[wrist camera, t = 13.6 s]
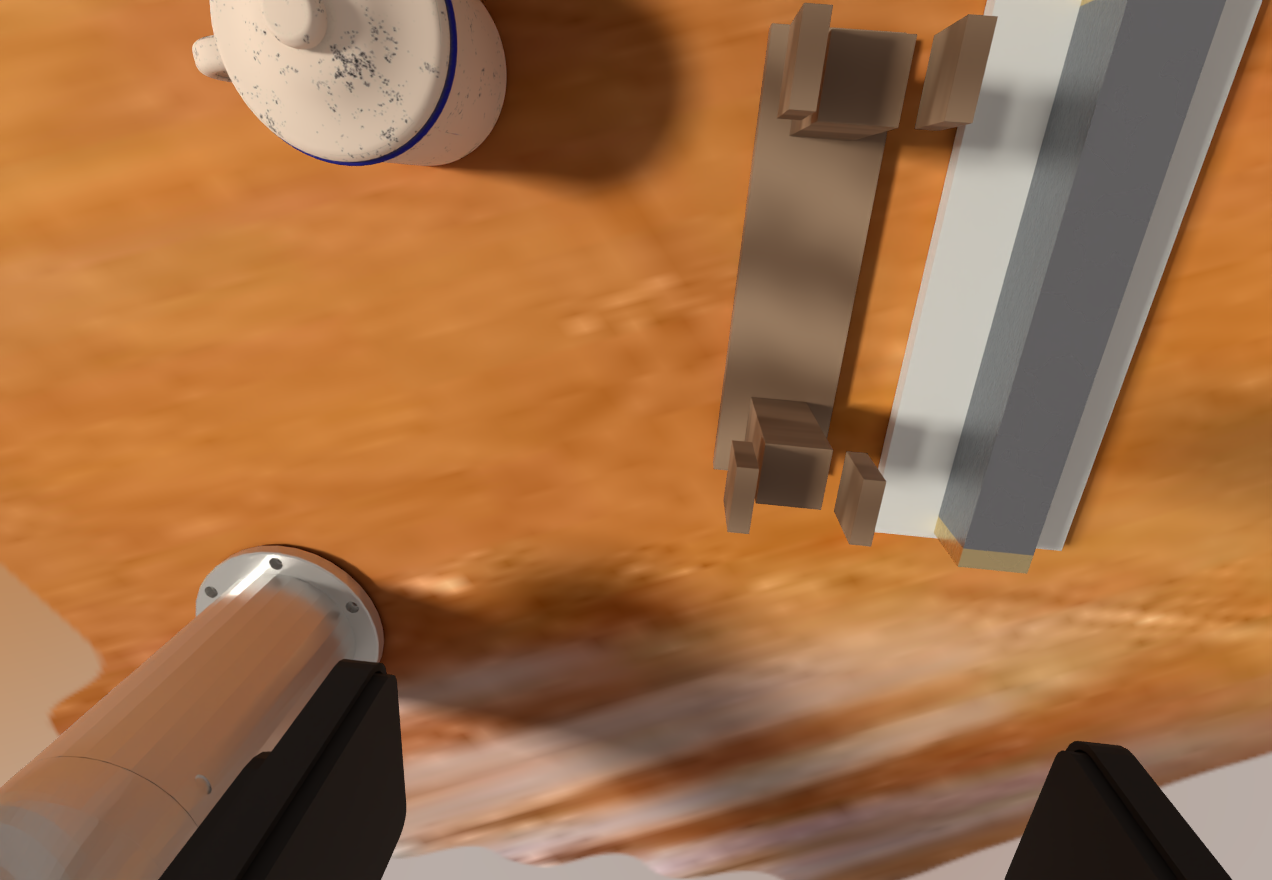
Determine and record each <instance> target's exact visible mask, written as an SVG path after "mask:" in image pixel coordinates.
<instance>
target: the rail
mask: <svg viewBox="0 0 1272 880" xmlns="http://www.w3.org/2000/svg"><path fill="white" fill-rule="evenodd" d="M1225 2H1226V0H1082V1H1081V5H1080V8H1079V12H1078V15H1077V19H1076V23H1075V26H1074V30H1073V33H1072V37H1071V41H1070V44H1069V48H1068V51H1067V55H1066V58H1065V62H1064V66H1063V69H1062V73H1061V76H1060V80H1059V84H1058V87H1057V91H1056V94H1055V98H1054V102H1053V105H1052V109H1051V112H1050V116H1049V120H1048V123H1047V127H1046V130H1045V134H1044V138H1043V141H1042V145H1041V148H1040V152H1039V156H1038V159H1037V163H1036V166H1035V170H1034V174H1033V177H1032V181H1031V184H1030V188H1029V192H1028V195H1027V199H1026V202H1025V206H1024V210H1023V213H1022V217H1021V220H1020V224H1019V228H1018V231H1017V235H1016V238H1015V242H1014V246H1013V249H1012V253H1011V256H1010V260H1009V264H1008V267H1007V271H1006V274H1005V278H1004V282H1003V285H1002V289H1001V292H1000V296H999V300H998V303H997V307H996V310H995V314H994V318H993V321H992V325H991V328H990V332H989V336H988V339H987V343H986V346H985V350H984V353H983V357H982V361H981V364H980V368H979V371H978V375H977V379H976V382H975V386H974V389H973V393H972V397H971V400H970V404H969V407H968V411H967V415H966V418H965V422H964V425H963V429H962V433H961V436H960V440H959V443H958V447H957V451H956V454H955V458H954V461H953V465H952V469H951V472H950V476H949V479H948V483H947V487H946V490H945V494H944V497H943V501H942V505H941V508H940V512H939V515H938V519H937V523H936V526H935V530H934V534H935V536H936V537H937V538H938V540H939V541H940V542H941V544H942V545H943V547H944V548H945V549H946V551H947V552H948V554H949V555H950V556H951V558H952V559H953V560H954V562H955V563H956V565H957V566H958V567H968V568H977V569H987V570H997V571H1007V572H1017V573H1026V574H1027V572H1028V569H1029V567H1030V564H1031V561H1032V558H1033V555H1034V552H1035V549H1036V546H1037V544H1038V541H1039V538H1040V535H1041V532H1042V529H1043V526H1044V523H1045V520H1046V518H1047V515H1048V512H1049V509H1050V506H1051V503H1052V500H1053V497H1054V495H1055V492H1056V489H1057V486H1058V483H1059V480H1060V477H1061V474H1062V472H1063V469H1064V466H1065V463H1066V460H1067V457H1068V454H1069V451H1070V449H1071V446H1072V443H1073V440H1074V437H1075V434H1076V431H1077V428H1078V426H1079V423H1080V420H1081V417H1082V414H1083V411H1084V408H1085V405H1086V403H1087V400H1088V397H1089V394H1090V391H1091V388H1092V385H1093V382H1094V379H1095V377H1096V374H1097V371H1098V368H1099V365H1100V362H1101V359H1102V356H1103V354H1104V351H1105V348H1106V345H1107V342H1108V339H1109V336H1110V333H1111V331H1112V328H1113V325H1114V322H1115V319H1116V316H1117V313H1118V310H1119V308H1120V305H1121V302H1122V299H1123V296H1124V293H1125V290H1126V287H1127V285H1128V282H1129V279H1130V276H1131V273H1132V270H1133V267H1134V264H1135V261H1136V259H1137V256H1138V253H1139V250H1140V247H1141V244H1142V241H1143V238H1144V236H1145V233H1146V230H1147V227H1148V224H1149V221H1150V218H1151V215H1152V213H1153V210H1154V207H1155V204H1156V201H1157V198H1158V195H1159V192H1160V190H1161V187H1162V184H1163V181H1164V178H1165V175H1166V172H1167V169H1168V167H1169V164H1170V161H1171V158H1172V155H1173V152H1174V149H1175V146H1176V143H1177V141H1178V138H1179V135H1180V132H1181V129H1182V126H1183V123H1184V120H1185V118H1186V115H1187V112H1188V109H1189V106H1190V103H1191V100H1192V97H1193V95H1194V92H1195V89H1196V86H1197V83H1198V80H1199V77H1200V74H1201V72H1202V69H1203V66H1204V63H1205V60H1206V57H1207V54H1208V51H1209V49H1210V46H1211V43H1212V40H1213V37H1214V34H1215V31H1216V28H1217V26H1218V23H1219V20H1220V17H1221V14H1222V11H1223V8H1224V5H1225Z"/></svg>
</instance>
